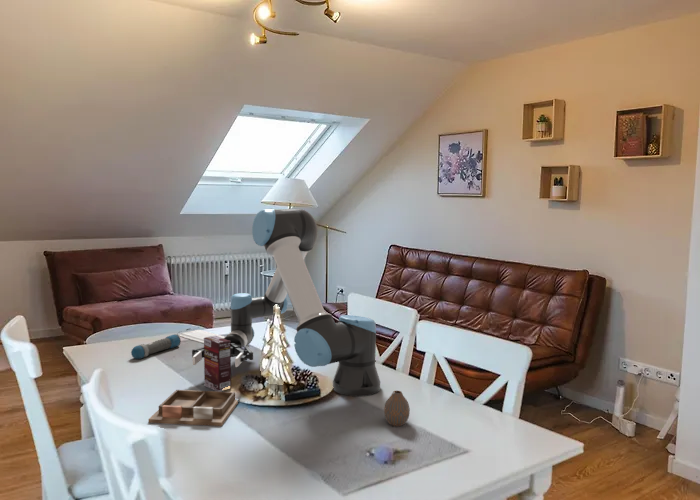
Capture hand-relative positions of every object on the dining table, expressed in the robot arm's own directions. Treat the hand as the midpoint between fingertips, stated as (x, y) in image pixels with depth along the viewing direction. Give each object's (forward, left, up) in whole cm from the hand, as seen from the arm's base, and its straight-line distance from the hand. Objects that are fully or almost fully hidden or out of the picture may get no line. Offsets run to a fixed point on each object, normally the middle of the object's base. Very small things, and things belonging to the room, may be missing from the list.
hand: (214, 361), depth 181 cm
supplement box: (0, -1, -9) cm, 9 cm away
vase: (-60, +4, -9) cm, 61 cm away
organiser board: (-5, +17, -9) cm, 20 cm away
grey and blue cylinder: (+43, -27, -9) cm, 52 cm away
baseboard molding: (+34, -50, -10) cm, 61 cm away
